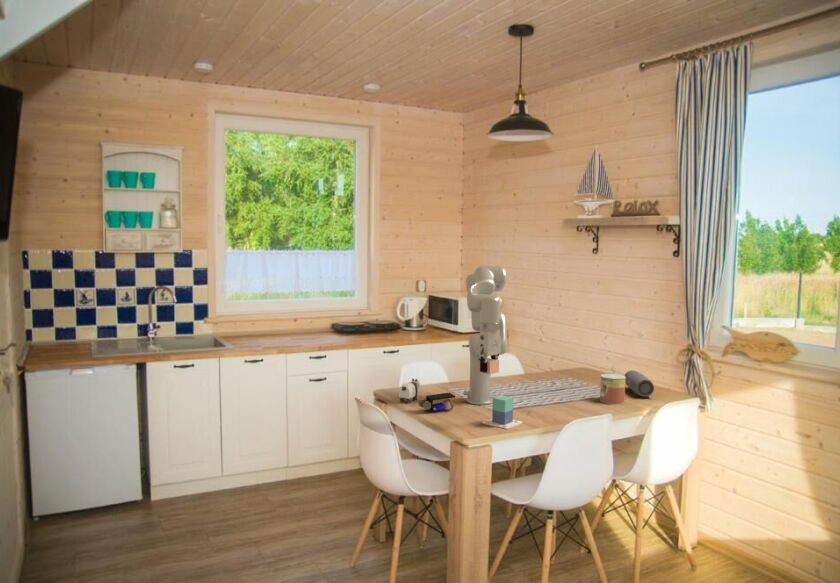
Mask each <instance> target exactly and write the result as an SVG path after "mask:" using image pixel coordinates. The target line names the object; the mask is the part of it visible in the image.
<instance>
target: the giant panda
mask: <svg viewBox="0 0 840 583" xmlns="http://www.w3.org/2000/svg"><path fill="white" fill-rule="evenodd" d="M420 387H421V383H420V381H419V380H418V378H412V380H411V382H404V383H402V384H401V386H400V387H399V391H398V396H399V403H402V404H403V403H406V404H411V403H412V401H413V402H414V401H415V402H416V401H418V389H419V388H420ZM411 399H412V401H411ZM405 400H406V402H405Z"/></svg>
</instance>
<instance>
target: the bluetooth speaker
mask: <svg viewBox="0 0 840 583" xmlns="http://www.w3.org/2000/svg"><path fill="white" fill-rule="evenodd" d="M624 376H625V377H626V378H625V386H627V387H628V389H630V390H631V391H632V393H633V394H634V395H636V396H637V397H651V395H652V394H653V393H654V391H655V385H654V383H653V382H652V381H651V380H650V379H649V378H648V377H647V376H645V375H644V374H642V373H641V372H638V371H637V370H628V371H627V372H626V373H625V374H624Z"/></svg>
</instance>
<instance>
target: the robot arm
mask: <svg viewBox="0 0 840 583" xmlns="http://www.w3.org/2000/svg"><path fill="white" fill-rule="evenodd" d="M507 277H508V276H507V271H506V269H505V267H503V266H501V265H500V266H499V265H497V266H494V265H483V266H482V265H481V266H477V268H475V270H474V272H473V273H470V274H468V275H467V276H466V278H465V288H466V289H465V290H466V292H467V293H466V304H467V305H466V306H467V308H468V311H469V312H470V314H471V328H472V330H473V331H475V332H479V333H474V334H472V335H470V336H469V339H468V347H469V348H468V349H469V390H467V389H464V390H463V393H462V394H463V396H467V397H466V398H465V401H466V403H468V404H471V405H477V406H479V405H480V406H482V405H483V406H485V405H486V406H487V405H491V404H493V397H491V380H492V379H491V375H492V374H486V372H487V363H486V361H487V358H488V357H490V359H495V360H499V356H500V355H505V354H506V353H507V352H508V351H507V350H508V334H507V332H508V330H507V319H506V315H505V314H504V313H503V312H501V311H500V310H501V309H502V306H503V300H502V298H501V297H500V295H499V294H493V293H495V292H496V293H497V292H501V291H503V289H504V287H505V285H506V282H507ZM478 360H479V362H480V372H485V373H480V372H478Z"/></svg>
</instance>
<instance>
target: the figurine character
mask: <svg viewBox="0 0 840 583" xmlns="http://www.w3.org/2000/svg"><path fill="white" fill-rule="evenodd" d="M454 398H456V395H454V394H452V392H444V393H436V394H429V395H425V398H421V399H420V400H418V402H417V403H418V406H419V407H421V408H423V409H425V410H423V412H426V411H427V412H426V414H430V413H434V412H437V411H442V410H444V411H446V412H447V411H448V412H449V411H452V410H453V409H454V405H455V403H454V401H453V400H452V399H454ZM438 400H443V402H437V403H434V402H433V401H438Z"/></svg>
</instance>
